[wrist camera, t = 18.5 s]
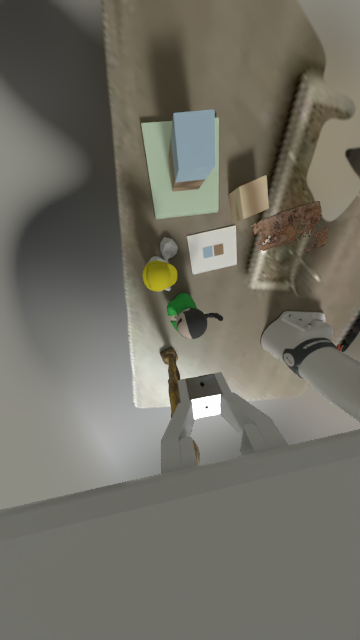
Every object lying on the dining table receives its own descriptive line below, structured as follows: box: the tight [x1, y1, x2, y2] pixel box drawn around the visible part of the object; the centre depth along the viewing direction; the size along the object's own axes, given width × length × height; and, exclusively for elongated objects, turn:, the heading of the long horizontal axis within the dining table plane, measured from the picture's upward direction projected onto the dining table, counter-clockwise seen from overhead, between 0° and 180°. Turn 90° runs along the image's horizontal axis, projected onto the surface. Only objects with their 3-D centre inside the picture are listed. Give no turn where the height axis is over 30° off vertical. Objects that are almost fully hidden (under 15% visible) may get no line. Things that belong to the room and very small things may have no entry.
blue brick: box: [171, 110, 215, 183], centre depth 23 cm, size 6×6×5 cm
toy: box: [167, 293, 223, 339], centre depth 36 cm, size 10×11×15 cm
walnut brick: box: [169, 138, 205, 192], centre depth 28 cm, size 6×6×5 cm
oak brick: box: [229, 175, 269, 222], centre depth 32 cm, size 6×6×5 cm
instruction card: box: [187, 225, 237, 274], centre depth 38 cm, size 12×9×1 cm
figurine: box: [143, 237, 178, 292], centre depth 31 cm, size 10×9×15 cm
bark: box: [250, 201, 328, 264], centre depth 39 cm, size 22×12×1 cm, turn 111°
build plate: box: [141, 118, 219, 219], centre depth 30 cm, size 14×14×1 cm
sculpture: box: [160, 348, 200, 466], centre depth 37 cm, size 7×6×30 cm
